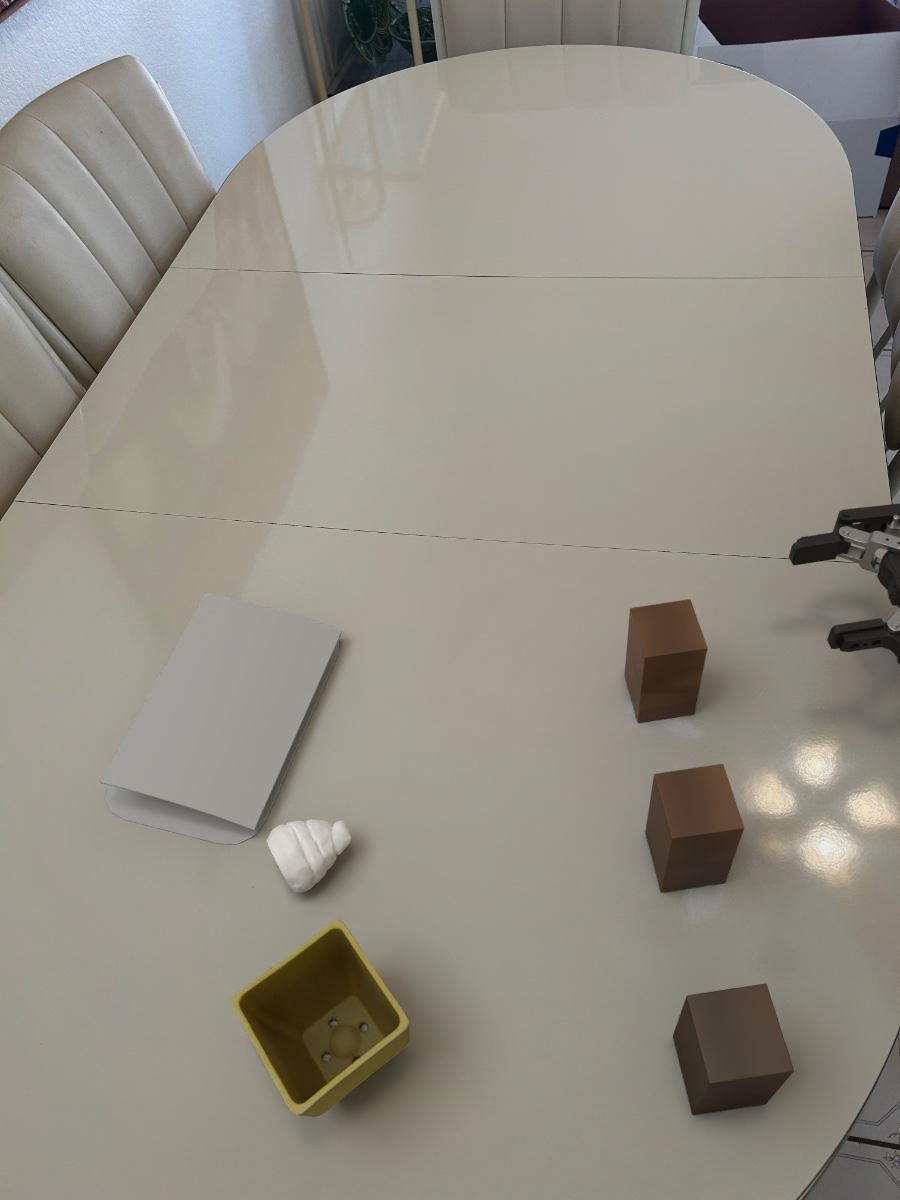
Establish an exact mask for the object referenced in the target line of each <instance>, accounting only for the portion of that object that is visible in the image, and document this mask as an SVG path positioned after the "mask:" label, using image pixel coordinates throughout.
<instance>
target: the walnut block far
mask: <svg viewBox="0 0 900 1200" xmlns="http://www.w3.org/2000/svg"><path fill="white" fill-rule="evenodd" d="M625 651H626V653H625V662H624V663H625V664H624V679H625V682H626V686H627V690H628V694H629V697H630V701H631V704H632V708H633V711H634V712H633V713H634V716H635V719H636V722H637V723H638V724H639V723H647V722H652V721H659V720H666V719H673V718H678V717H686V716H692V715H695V713H696V710H697V703H698V699H699V693H700V688H701V684H702V679H703V673H704V669H705V663H706V658H707V654H708V645H707V642H706V638H705V636H704V634H703V630H702V628H701V625H700V623H699V619H698V617H697V613H696V611H695V608H694V605H693V602H692V599H691V598H688V599H681V600H674V601H668V602H662V603H655V604H648V605H642V606H636V607H630V608H629V614H628V627H627V641H626V650H625Z"/></svg>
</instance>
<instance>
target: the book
mask: <svg viewBox="0 0 900 1200" xmlns="http://www.w3.org/2000/svg"><path fill="white" fill-rule="evenodd" d="M342 633H343V631H342V630H340V629H338V628H336V627H333V626H330V625H327V624H324V623H322V622H319V621H316V620H314V619H311V618H308V617H304V616H302V615H299V614H295V613H291V612H288V611H285V610H282V609H278V608H274V607H271V606H266V605H263V604H259V603H254V602H250V601H246V600H243V599H242V600H241V599H238V598H233V597H229V596H225V595H219V594H214V593H208V592H205V594H204V595H203V597H202V599H201V601H200V603H199V604H198V606H197V607H196V610H195V611H194V613H193V615H192V617H191V619H190V620H189V622H188V624H187V626H186V627H185V629H184V631H183V633H182V634H181V636H180V638H179V640H178V642H177V643H176V646H175V647H174V649H173V651H172V652H171V654H170V656H169V657H168V660H167V661H166V663H165V665H164V667H163V668H162V670H161V671H160V674H159V676H158V677H157V679H156V681H155V683H154V685H153V686H152V688H151V690H150V691H149V693H148V694H147V696H146V699H145V700H144V702H143V704H142V706H141V708H140V709H139V711H138V712H137V715H136V717H135V718H134V720H133V722H132V724H131V725H130V727H129V729H128V730H127V733H126V735H124V738H123V740H122V742H121V743H120V745H119V747H118V749H117V750H116V752H115V754H114V756H113V758H112V760H111V761H110V763H109V765H108V766H107V768H106V770H105V772H104V773H103V775H102V777H101V779H100V781H99V783H100V784H103V785H107V788H106V792H105V797H104V800H105V802H106V805H107V807H108V810H109V812H110V813H112V814H114V815H115V816H116V817H119V818H120V819H122V820H124V821H128V822H133V823H135V824H140V825H144V826H147V827H152V828H156V829H159V830H163V831H167V832H171V833H174V834H179V835H183V836H186V837H190V838H191V837H192V838H193V839H199V840H202V841H205V842H210V843H214V844H218V845H238V844H241V843H243V842H245V841H247V840H250V839H252V838H254V837H255V836H256V835H257V833H258V832H259V831H260V830H261V829H262V827H263V826H264V825H265V824H266V822H267V820H268V817H269V815H270V812H271V810H272V807H273V805H274V802H275V801H276V799H277V796H278V793H279V791H280V789H281V787H282V784H283V783H284V781H285V778H286V775H287V773H288V771H289V768H290V766H291V764H292V762H293V760H294V757H295V755H296V752H297V750H298V749H299V746H300V744H301V741H302V739H303V736H304V735H305V732H306V729H307V727H308V725H309V723H310V721H311V718H312V715H313V713H314V711H315V708H316V707H317V704H318V702H319V699H320V697H321V696H322V693H323V690H324V688H325V686H326V684H327V681H328V679H329V677H330V674H331V673H332V670H333V668H334V665H335V663H336V660H337V658H338V656H339V652H340V637H341V635H342Z"/></svg>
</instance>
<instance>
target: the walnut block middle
mask: <svg viewBox="0 0 900 1200" xmlns="http://www.w3.org/2000/svg"><path fill="white" fill-rule="evenodd" d="M651 785H652V786H651V791H650V798H649V804H648V811H647V819H646V823H645V824H646V826H645V831H644V833H645V838H646V841H647V846H648V849H649V853H650V857H651V861H652V864H653V868H654V873H655V876H656V881H657V884H658V888H659V892H660V893H661V894H663V893H670V892H674V891H675V892H677V891H682V890H688V889H697V888H702V887H710V886H715V885H716V886H717V885H724V884H726V882H727V880H728V877H729V873H730V871H731V869H732V868H731V867H732V865H733V862H734V859H735V856H736V854H737V850H738V848H739V844H740V842H741V839H742V836H743V833H744V830H745V826H744V823H743V819H742V816H741V813H740V810H739V808H738V805H737V802H736V801H737V800H736V798H735V795H734V792H733V790H732V787H731V784H730V780H729V777H728V774H727V771H726V769H725V765H724V764H723V763H717V764H710V765H704V766H698V767H691V768H685V769H684V768H683V769H677V770H671V771H665V772H657V773H654V774H653V777H652V784H651Z"/></svg>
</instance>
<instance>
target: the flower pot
mask: <svg viewBox="0 0 900 1200" xmlns="http://www.w3.org/2000/svg"><path fill="white" fill-rule="evenodd" d="M230 1007H231V1008H232V1010H233V1013H235V1015H236V1017H237V1019H238V1020H239V1022H240V1024H241V1025H242V1027H243V1029H244V1031H245V1032H246V1034H247V1036H248V1038H249V1039H250V1041H251V1043H252V1045H253V1047H254V1048H255V1050H256V1052H257V1054H258V1055H259V1057H260V1059H261V1061H262V1063H263V1065H264V1067H265V1068H266V1070H267V1072H268V1074H269V1075H270V1077H271V1079H272V1081H273V1083H274V1085H275V1086H276V1088H277V1090H278V1092H279V1093H280V1096H281V1098H282V1099H283V1101H284V1103H285V1105H286V1107H287V1108H288V1110H289V1112H290V1113H291V1114H293V1116H298V1117H299V1116H300V1117H307V1118H309V1117H312V1118H316V1117H320V1116H322V1115H324V1114H325V1113H326V1112H329V1110H330V1109H332V1108H333V1107H334V1106H335V1105H337V1104H338V1103H339V1102H340V1101H341V1100H343V1099H344V1098H345V1097H346V1096H347V1095H349V1094H350V1093H351V1092H352V1091H353V1090H355V1089H356V1088H357V1087H359V1086H360V1085H361V1084H362V1083H363V1082H364V1081H366V1080H367V1079H368V1078H369V1077H371V1076H372V1075H373V1074H374V1073H375V1072H377V1071H378V1070H380V1068H382V1067H383V1066H385V1065H386V1064H387V1063H388V1062H389V1061H390V1060H392V1059H393V1058H395V1057H396V1056H398V1054H399V1053H401V1052H402V1051H404V1049H406V1047H407V1046H408V1045H409V1043H410V1039H411V1033H410V1032H411V1031H410V1020H409V1017H408V1015H407V1014H406V1012H405V1011H404V1010H403V1008H402V1006H401V1005H400V1004H399V1002H398V1001H397V999H396V998H395V996H394V995H393V994H392V992H391V991H390V989H389V988H388V986H387V985H386V984H385V982H384V980H383V979H382V978H381V976H380V975H379V973H378V972H377V970H376V969H375V968H374V966H373V965H372V963H371V962H370V960H369V958H368V957H367V956H366V954H365V953H364V951H363V949H362V948H361V946H360V945H359V944H358V942H357V940H356V939H355V937H354V935H353V934H352V933H351V931H350V930H349V928H348V927H347V925H346V924H345V922H343V921H342V920H341V919H335V920H333V921H332V922H330V923H328V925H326V926H324V928H322V929H321V930H320V931H318V932H317V933H316V934H314V935H313V936H312V937H311V938H310V939H308V940H307V941H306V942H304V943H303V944H301V945H300V946H299V947H298V948H296V949H295V950H294V951H293V952H292V953H290V954H289V955H287V956H286V957H285V958H284V959H282V960H280V962H278V963H276V964H275V965H274V966H273V967H270V968H269V969H268V970H267V971H265V972H264V973H262V974H261V975H260V976H258V977H257V978H256V979H254V980H253V981H251V982H250V983H249V984H247V985H246V986H244V987H243V988H241V989H240V990H239V991H238V992H237V993H236V994H234V995H233V996H232V998H231V999H230ZM332 1020H335V1021H336V1025H335V1026H334V1027H333V1026H331V1021H332ZM363 1024H365V1025H366V1030H365V1031H362V1030H361V1026H362V1025H363ZM325 1054H329V1059H328V1060H327V1061H325V1060H324V1058H323V1057H324V1055H325ZM356 1058H358V1059H356ZM355 1059H356V1060H355Z"/></svg>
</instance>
